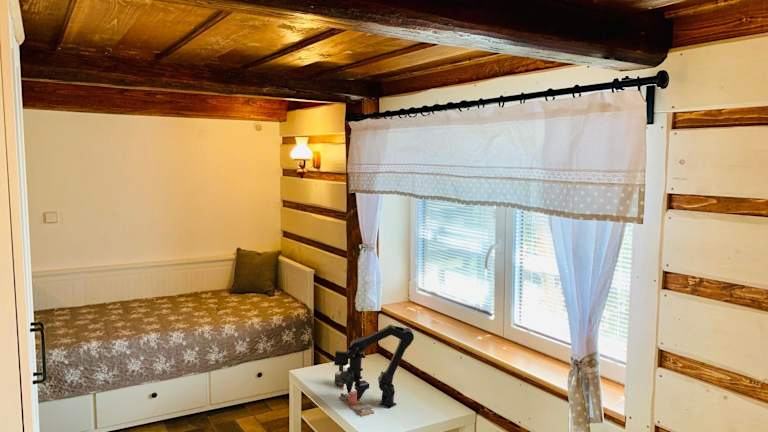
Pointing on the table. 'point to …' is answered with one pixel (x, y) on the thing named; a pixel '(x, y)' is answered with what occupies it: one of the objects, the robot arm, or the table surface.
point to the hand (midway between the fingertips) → (353, 397)
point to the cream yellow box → (337, 383)
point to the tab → (351, 396)
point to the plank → (357, 406)
